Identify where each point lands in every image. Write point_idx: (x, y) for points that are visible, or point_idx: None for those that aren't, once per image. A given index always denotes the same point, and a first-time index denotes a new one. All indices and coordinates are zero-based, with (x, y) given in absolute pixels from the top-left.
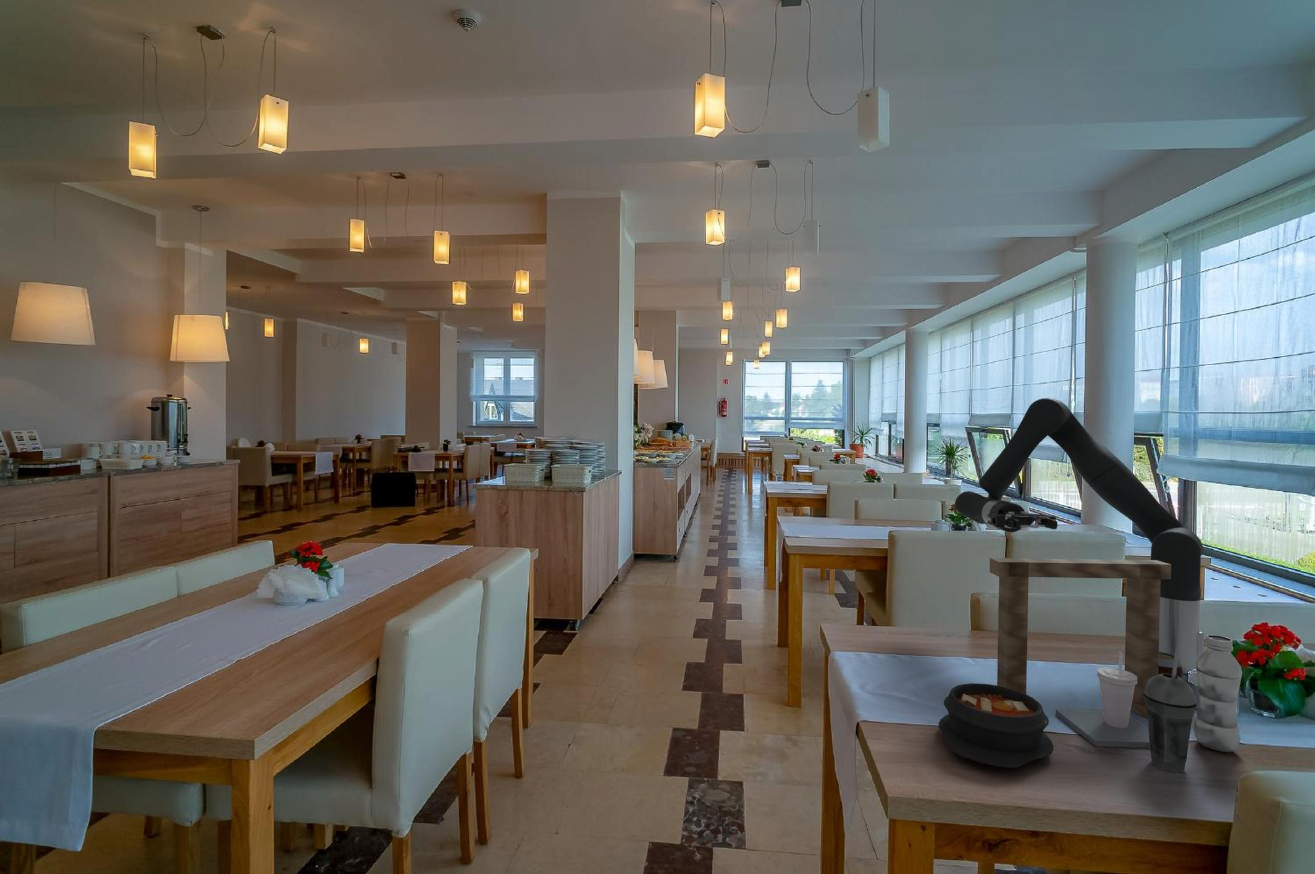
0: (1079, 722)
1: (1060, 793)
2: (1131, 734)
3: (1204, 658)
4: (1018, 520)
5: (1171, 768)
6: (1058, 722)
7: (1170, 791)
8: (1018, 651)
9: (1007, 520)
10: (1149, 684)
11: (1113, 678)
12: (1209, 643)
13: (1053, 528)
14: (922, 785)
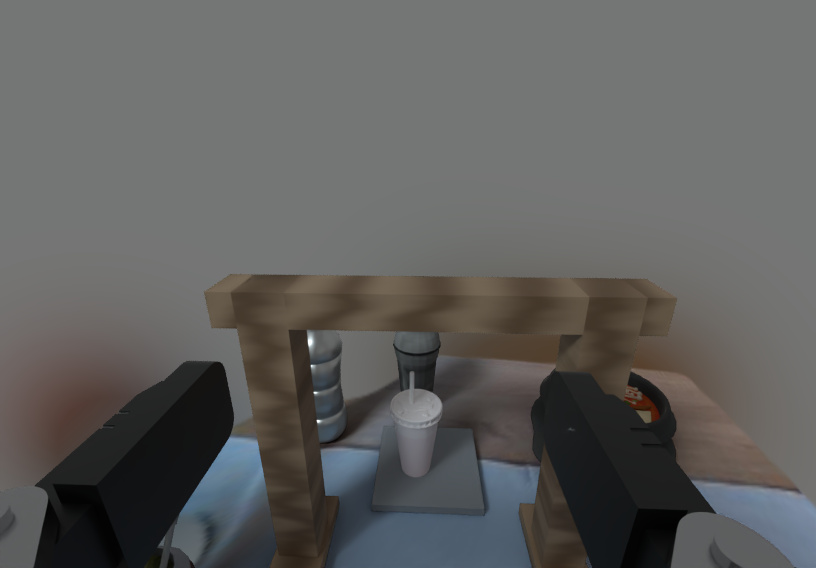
0: (467, 468)
1: (543, 374)
2: None
3: (335, 335)
4: (562, 371)
5: None
6: (491, 489)
7: (446, 377)
8: None
9: (692, 492)
10: (436, 333)
11: (433, 393)
12: None
13: (233, 421)
14: (663, 380)
